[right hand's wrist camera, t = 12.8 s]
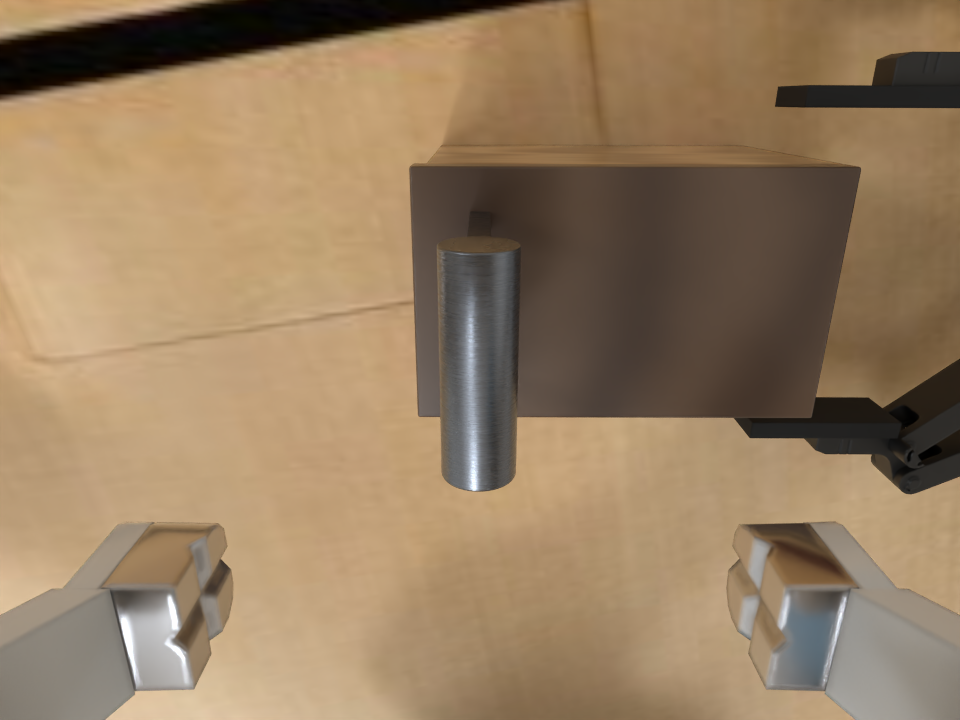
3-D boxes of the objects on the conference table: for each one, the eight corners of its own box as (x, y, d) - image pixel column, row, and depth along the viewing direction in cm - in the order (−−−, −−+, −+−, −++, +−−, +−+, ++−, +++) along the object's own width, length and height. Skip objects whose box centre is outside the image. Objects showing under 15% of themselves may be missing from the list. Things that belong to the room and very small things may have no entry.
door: (420, 406, 27) (394, 532, 19) (411, 163, 24) (376, 196, 16) (800, 406, 27) (931, 534, 19) (846, 164, 24) (1029, 197, 16)
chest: (444, 327, 36) (431, 405, 27) (440, 145, 33) (425, 163, 24) (718, 327, 36) (799, 406, 27) (743, 145, 33) (845, 164, 24)
